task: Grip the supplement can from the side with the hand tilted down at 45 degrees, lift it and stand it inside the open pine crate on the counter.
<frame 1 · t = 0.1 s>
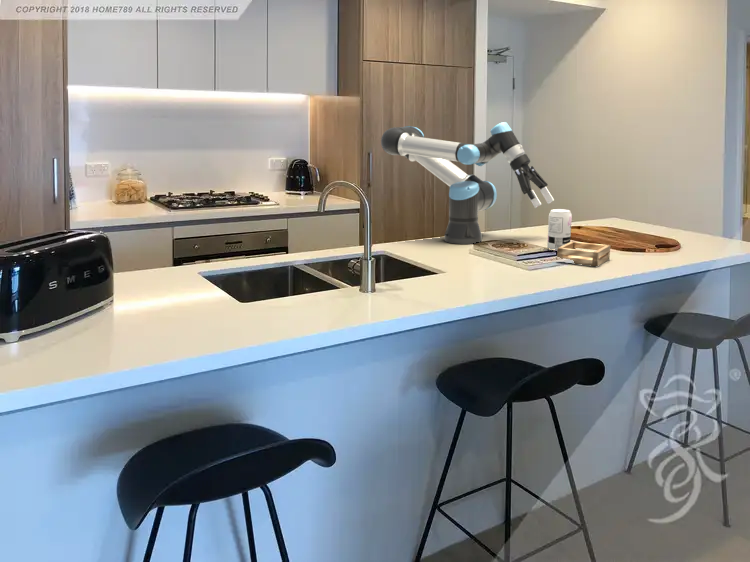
hand: (544, 204, 273), 15 cm above the worktop, tool tilted 35°, fingers open, 13 cm apart
supplement can: (558, 250, 263), on the worktop
crate: (583, 260, 245), on the worktop
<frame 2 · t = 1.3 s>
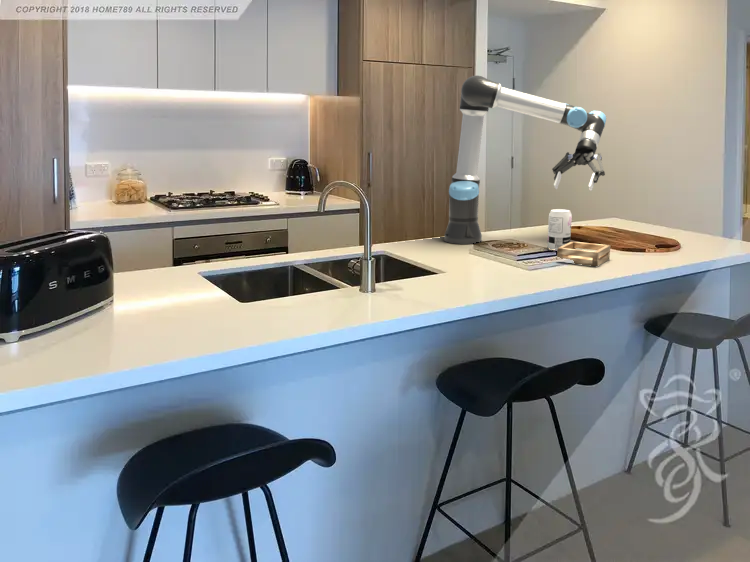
hand: (572, 187, 266), 22 cm above the worktop, tool tilted 45°, fingers open, 13 cm apart
nothing on the worktop moved.
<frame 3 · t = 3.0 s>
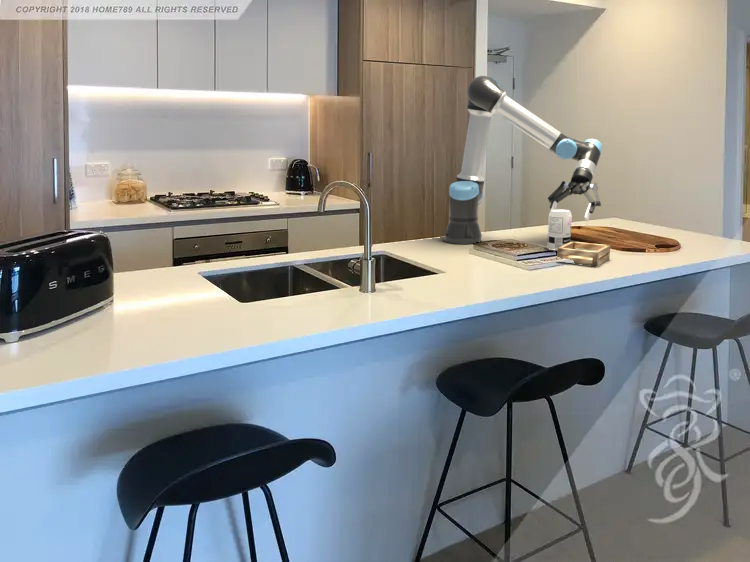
hand: (568, 218, 264), 12 cm above the worktop, tool tilted 45°, fingers open, 13 cm apart
nothing on the worktop moved.
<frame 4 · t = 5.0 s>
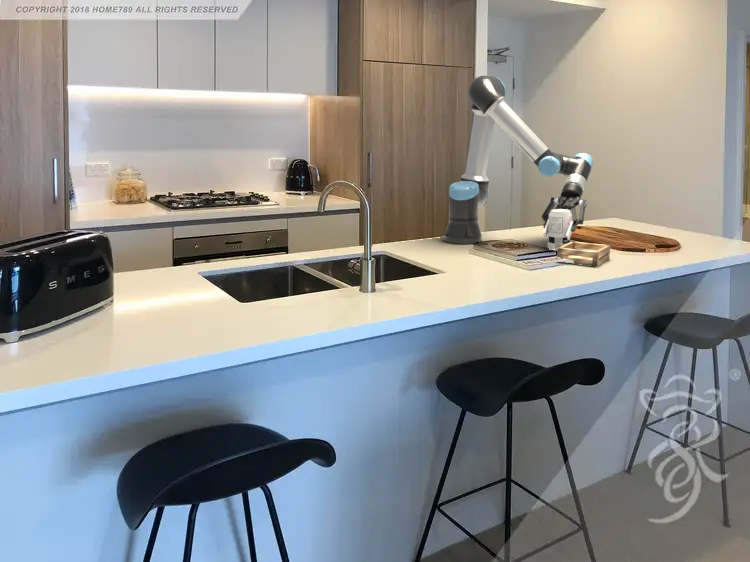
hand: (556, 236, 259), 6 cm above the worktop, tool tilted 45°, fingers closed on supplement can, 8 cm apart
supplement can: (558, 250, 263), on the worktop, touching gripper
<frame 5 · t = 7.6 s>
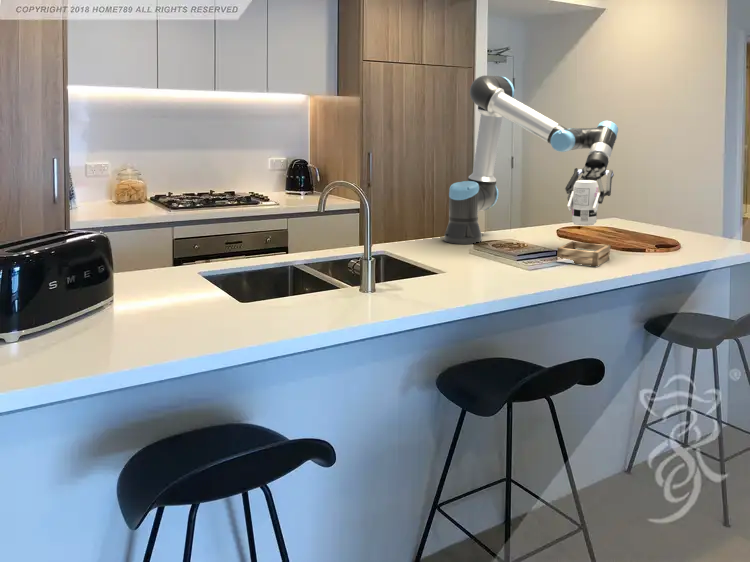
hand: (581, 209, 241), 18 cm above the worktop, tool tilted 45°, fingers closed on supplement can, 8 cm apart
supplement can: (583, 224, 246), point 12 cm above the worktop, touching gripper
when the fingers open (8 cm above the worktop, at t = 10.1 s): supplement can drops 1 cm, resting on crate.
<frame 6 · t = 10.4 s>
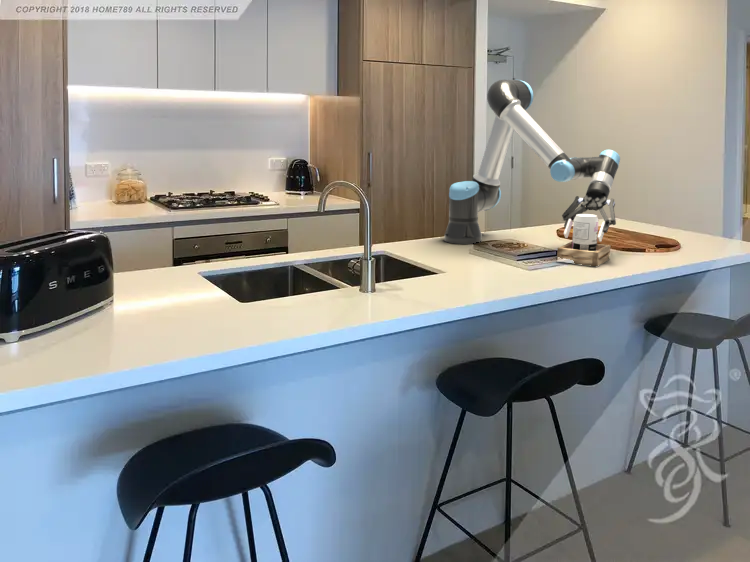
hand: (582, 237, 241), 9 cm above the worktop, tool tilted 45°, fingers open, 11 cm apart
supplement can: (583, 258, 245), point 1 cm above the worktop, touching crate
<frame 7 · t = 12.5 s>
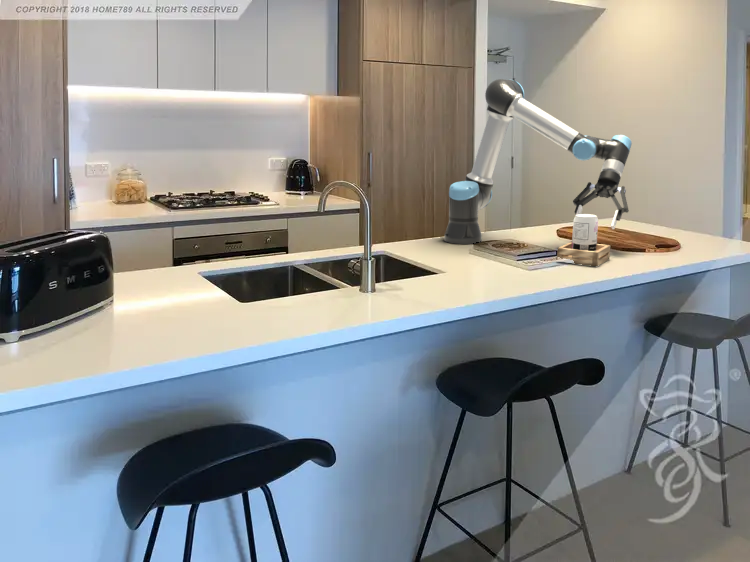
hand: (593, 224, 254), 11 cm above the worktop, tool tilted 35°, fingers open, 13 cm apart
nothing on the worktop moved.
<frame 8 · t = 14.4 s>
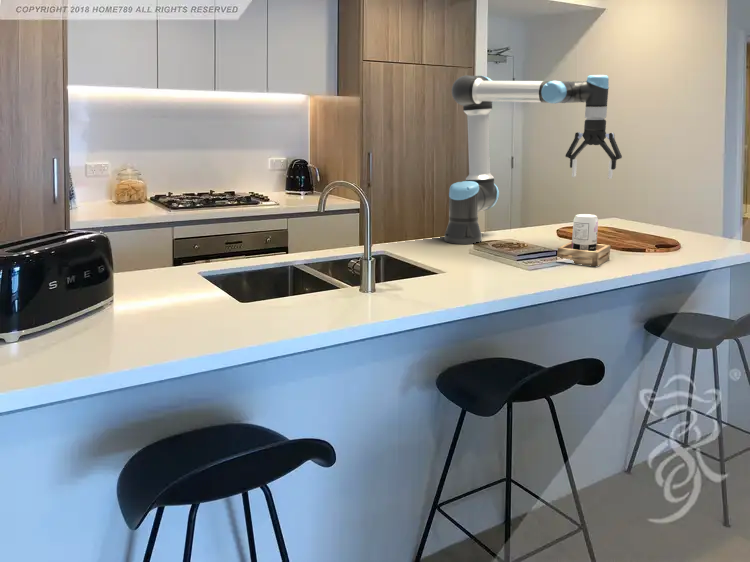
hand: (591, 177, 259), 27 cm above the worktop, tool pointing down, fingers open, 13 cm apart
nothing on the worktop moved.
at the end: supplement can inside the target area on the crate (0.1 cm from its centre), point 0.8 cm above the crate's base; supplement can tilted 0°; the gripper is holding nothing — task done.
